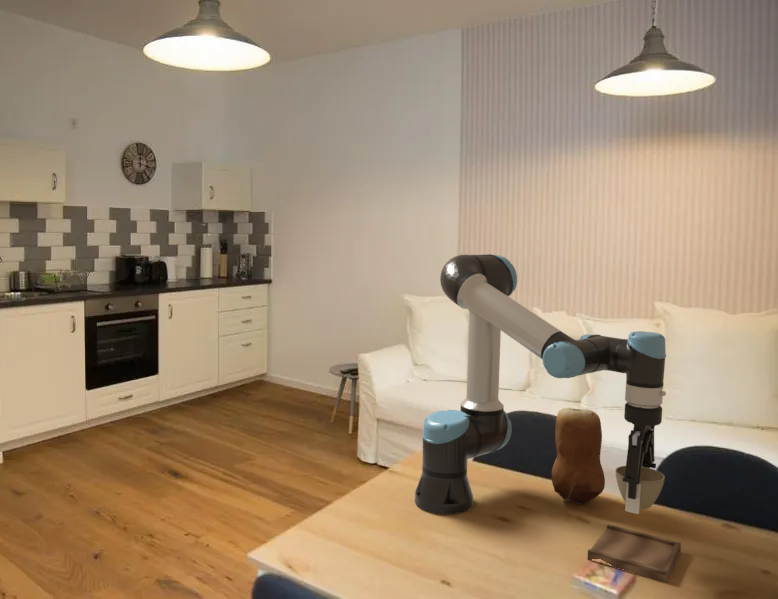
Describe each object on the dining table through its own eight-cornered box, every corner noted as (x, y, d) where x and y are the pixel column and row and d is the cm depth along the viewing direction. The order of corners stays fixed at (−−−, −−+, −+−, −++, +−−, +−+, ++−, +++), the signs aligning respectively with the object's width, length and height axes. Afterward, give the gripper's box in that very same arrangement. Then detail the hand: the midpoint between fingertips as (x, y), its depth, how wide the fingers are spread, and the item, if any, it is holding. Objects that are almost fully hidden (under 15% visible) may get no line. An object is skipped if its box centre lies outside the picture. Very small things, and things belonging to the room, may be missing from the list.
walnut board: (587, 559, 140) (587, 550, 140) (607, 532, 153) (608, 524, 153) (666, 582, 131) (666, 572, 131) (680, 551, 145) (680, 542, 144)
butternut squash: (575, 487, 181) (579, 400, 179) (614, 505, 170) (619, 412, 167) (539, 497, 174) (543, 406, 171) (577, 516, 162) (581, 418, 160)
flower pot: (667, 516, 135) (669, 483, 135) (617, 511, 137) (619, 479, 137) (657, 498, 145) (659, 467, 144) (611, 494, 147) (612, 463, 146)
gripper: (650, 418, 128) (644, 526, 130) (672, 396, 146) (666, 491, 148) (611, 412, 132) (606, 517, 134) (637, 391, 151) (632, 484, 153)
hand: (638, 503), depth 141 cm, fingers closed on flower pot, 10 cm apart
